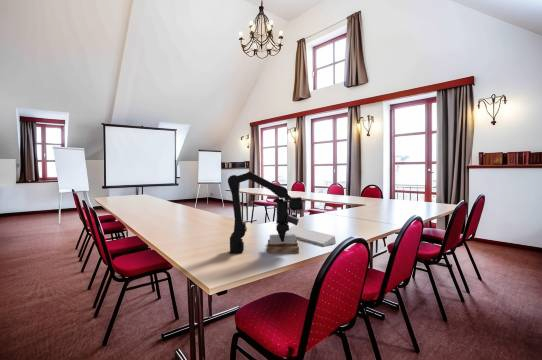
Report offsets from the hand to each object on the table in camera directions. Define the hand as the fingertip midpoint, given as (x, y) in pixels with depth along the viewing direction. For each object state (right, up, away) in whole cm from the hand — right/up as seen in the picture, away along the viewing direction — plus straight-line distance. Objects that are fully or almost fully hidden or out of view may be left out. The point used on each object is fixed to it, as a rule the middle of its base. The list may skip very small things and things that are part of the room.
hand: (282, 240), depth 141 cm
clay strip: (0, -1, 0) cm, 1 cm away
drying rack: (0, -5, +4) cm, 6 cm away
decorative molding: (+16, -5, +23) cm, 28 cm away
